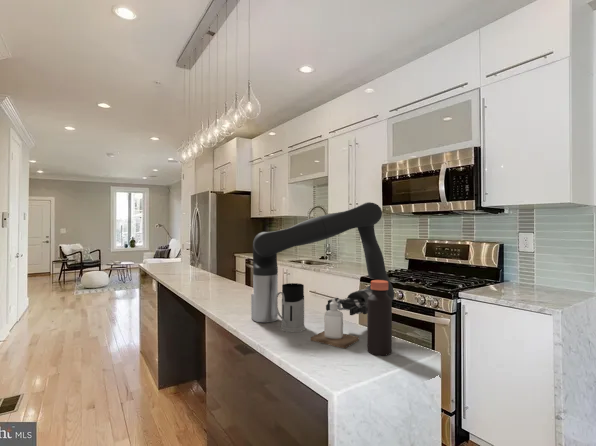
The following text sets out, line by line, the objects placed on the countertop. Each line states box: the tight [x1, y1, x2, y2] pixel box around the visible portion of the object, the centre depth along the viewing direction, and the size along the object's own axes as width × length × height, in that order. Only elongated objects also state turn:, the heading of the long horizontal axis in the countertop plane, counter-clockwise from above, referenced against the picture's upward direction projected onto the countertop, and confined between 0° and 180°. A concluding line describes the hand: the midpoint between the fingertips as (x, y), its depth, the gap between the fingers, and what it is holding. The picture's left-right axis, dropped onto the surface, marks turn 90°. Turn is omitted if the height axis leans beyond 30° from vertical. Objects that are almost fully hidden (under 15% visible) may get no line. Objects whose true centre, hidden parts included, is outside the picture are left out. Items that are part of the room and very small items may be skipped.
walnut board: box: [310, 330, 360, 349], centre depth 107 cm, size 12×9×1 cm
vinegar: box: [366, 279, 393, 357], centre depth 97 cm, size 7×7×20 cm
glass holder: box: [275, 282, 306, 333], centre depth 117 cm, size 9×14×15 cm, turn 147°
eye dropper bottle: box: [324, 297, 344, 339], centre depth 107 cm, size 4×6×12 cm
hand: (338, 310), depth 109 cm, fingers open, 8 cm apart
